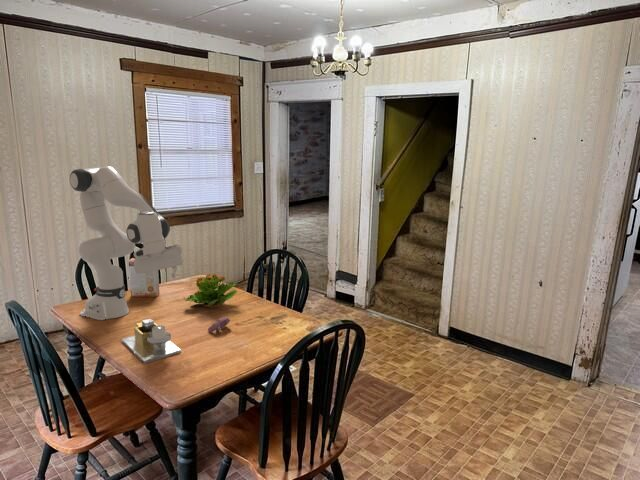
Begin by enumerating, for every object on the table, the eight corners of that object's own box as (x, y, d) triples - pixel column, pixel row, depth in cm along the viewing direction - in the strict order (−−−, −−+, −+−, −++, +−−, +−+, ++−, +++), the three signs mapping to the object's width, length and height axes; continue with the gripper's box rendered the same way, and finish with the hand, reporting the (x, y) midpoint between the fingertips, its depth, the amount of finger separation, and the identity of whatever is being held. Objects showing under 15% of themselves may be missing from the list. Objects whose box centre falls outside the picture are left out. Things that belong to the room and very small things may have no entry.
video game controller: (213, 337, 194) (218, 325, 192) (206, 330, 196) (211, 319, 193) (227, 329, 203) (232, 318, 200) (221, 323, 204) (226, 312, 201)
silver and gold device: (121, 341, 184) (119, 315, 182) (156, 331, 194) (154, 307, 192) (145, 365, 165) (143, 336, 163) (182, 353, 175) (181, 326, 173)
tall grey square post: (143, 342, 181) (141, 320, 179) (151, 340, 183) (150, 318, 181) (146, 345, 179) (145, 323, 176) (155, 343, 181) (153, 321, 179)
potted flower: (206, 294, 244) (205, 264, 240) (244, 299, 237) (244, 268, 234) (181, 309, 220) (180, 277, 216) (223, 316, 214) (222, 282, 210)
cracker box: (159, 293, 242) (157, 257, 237) (156, 297, 236) (154, 260, 232) (134, 293, 241) (132, 257, 237) (130, 297, 235) (127, 260, 231)
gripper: (181, 242, 188) (188, 273, 190) (134, 252, 187) (142, 283, 188) (178, 244, 182) (185, 275, 184) (129, 254, 180) (137, 285, 182)
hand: (163, 279), depth 186 cm, fingers open, 8 cm apart
